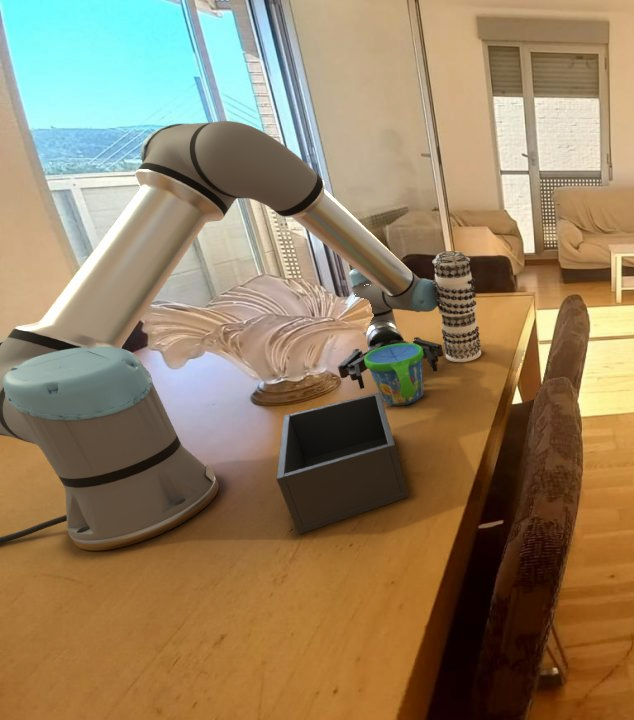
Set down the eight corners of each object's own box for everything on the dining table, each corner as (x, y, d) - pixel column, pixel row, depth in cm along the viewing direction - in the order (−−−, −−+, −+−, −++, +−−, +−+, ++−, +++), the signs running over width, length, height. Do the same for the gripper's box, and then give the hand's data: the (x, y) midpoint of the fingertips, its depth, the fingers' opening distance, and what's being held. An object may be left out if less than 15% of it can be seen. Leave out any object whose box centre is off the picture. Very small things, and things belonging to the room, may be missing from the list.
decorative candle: (466, 342, 122) (453, 246, 110) (490, 352, 117) (480, 253, 106) (435, 355, 115) (419, 254, 104) (461, 366, 111) (446, 261, 99)
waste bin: (298, 535, 62) (276, 479, 58) (301, 463, 77) (283, 415, 73) (408, 497, 68) (394, 444, 65) (391, 437, 83) (379, 392, 79)
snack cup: (437, 408, 92) (427, 360, 88) (378, 422, 88) (365, 373, 84) (426, 378, 105) (417, 335, 101) (374, 389, 101) (362, 345, 97)
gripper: (443, 345, 118) (465, 375, 101) (329, 369, 106) (332, 407, 89) (437, 316, 115) (459, 342, 98) (319, 337, 103) (321, 371, 86)
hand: (398, 373), depth 94 cm, fingers open, 13 cm apart
